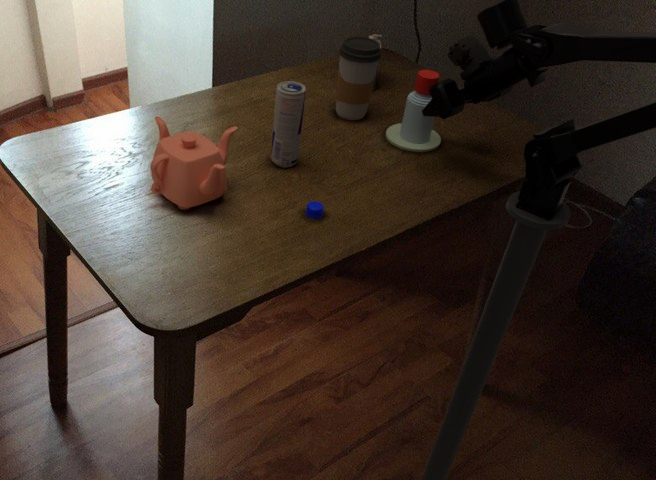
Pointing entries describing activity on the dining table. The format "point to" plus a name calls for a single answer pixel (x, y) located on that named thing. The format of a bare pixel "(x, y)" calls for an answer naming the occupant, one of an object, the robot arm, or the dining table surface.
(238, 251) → the dining table surface
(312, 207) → the bottle cap
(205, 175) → the teapot
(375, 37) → the flask
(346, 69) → the coffee cup
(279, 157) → the beverage can
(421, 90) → the cap
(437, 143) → the coaster
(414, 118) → the bottle
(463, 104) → the robot arm
